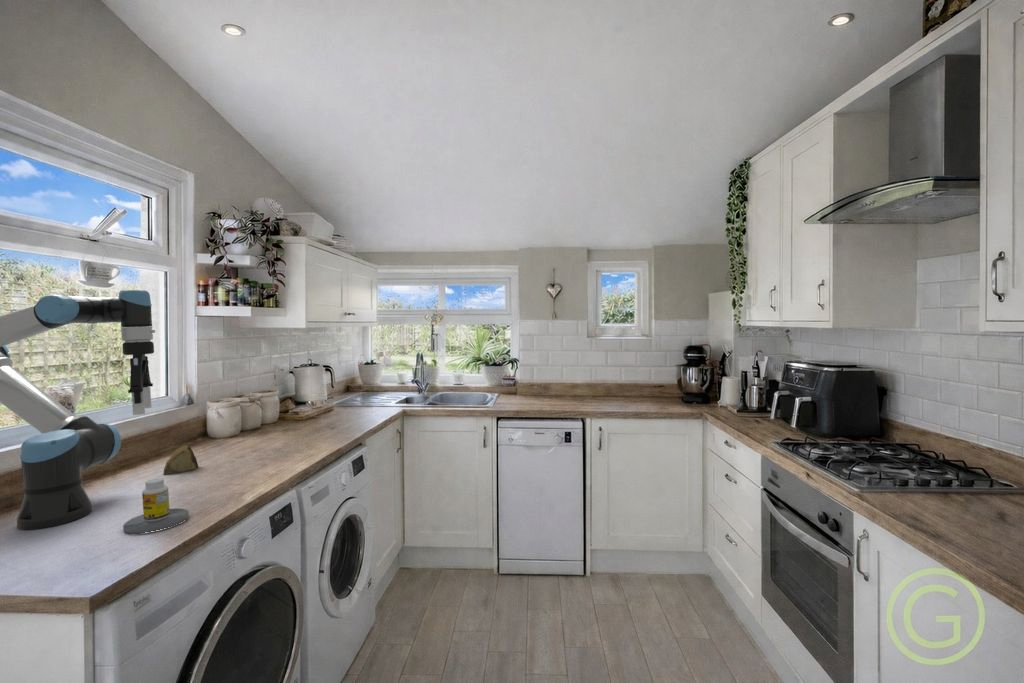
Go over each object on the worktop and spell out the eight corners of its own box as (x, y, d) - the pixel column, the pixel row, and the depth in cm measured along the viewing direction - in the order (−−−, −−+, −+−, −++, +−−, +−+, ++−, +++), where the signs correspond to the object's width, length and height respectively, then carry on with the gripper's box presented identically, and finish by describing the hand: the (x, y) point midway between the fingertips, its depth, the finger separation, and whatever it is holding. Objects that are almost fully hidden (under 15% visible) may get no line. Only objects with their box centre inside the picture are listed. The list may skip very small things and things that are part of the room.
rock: (155, 471, 170) (185, 465, 172) (158, 449, 174) (188, 443, 176) (171, 481, 179) (199, 475, 181) (173, 460, 183) (201, 454, 185)
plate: (120, 539, 120) (119, 534, 120) (127, 520, 132) (126, 516, 132) (188, 525, 128) (188, 520, 127) (189, 508, 139) (189, 504, 139)
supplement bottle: (139, 520, 129) (137, 482, 128) (163, 513, 133) (160, 475, 133) (150, 524, 126) (147, 485, 125) (174, 516, 131) (171, 478, 130)
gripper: (147, 341, 139) (152, 415, 140) (158, 339, 161) (162, 404, 162) (113, 342, 135) (119, 419, 136) (129, 341, 157) (134, 406, 158)
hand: (142, 411), depth 149 cm, fingers open, 13 cm apart
